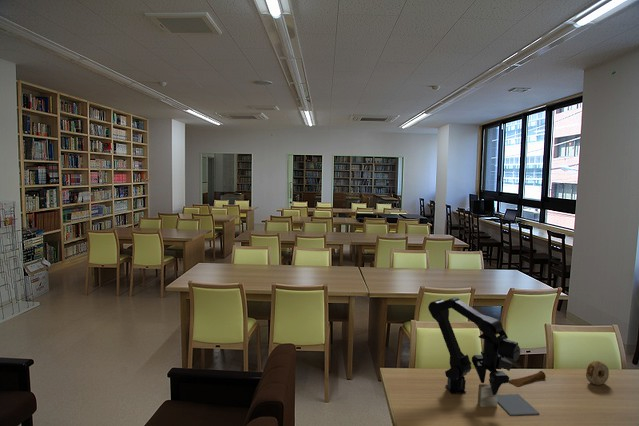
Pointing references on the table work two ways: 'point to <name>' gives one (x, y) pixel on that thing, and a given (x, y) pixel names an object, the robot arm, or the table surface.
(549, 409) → the table surface
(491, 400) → the tile
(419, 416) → the table surface
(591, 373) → the stone disc
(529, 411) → the mat
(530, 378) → the primitive tool
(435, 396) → the table surface
